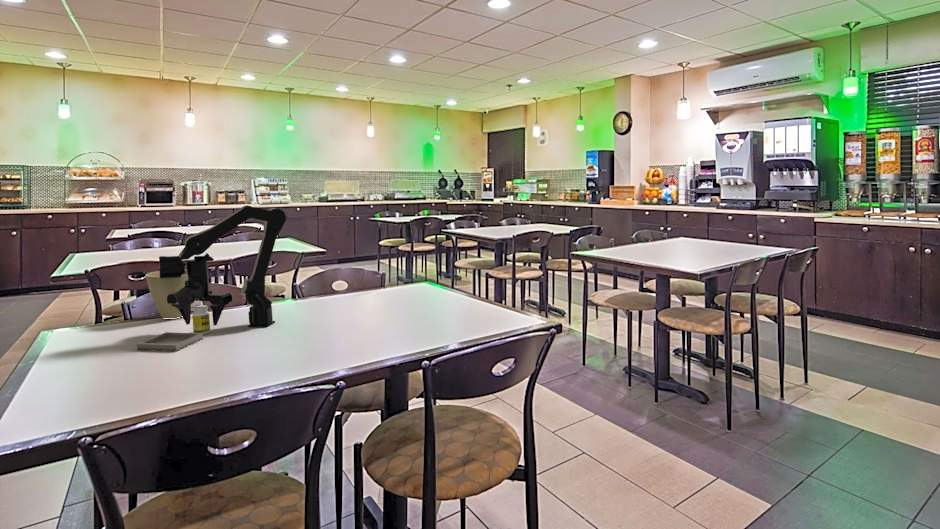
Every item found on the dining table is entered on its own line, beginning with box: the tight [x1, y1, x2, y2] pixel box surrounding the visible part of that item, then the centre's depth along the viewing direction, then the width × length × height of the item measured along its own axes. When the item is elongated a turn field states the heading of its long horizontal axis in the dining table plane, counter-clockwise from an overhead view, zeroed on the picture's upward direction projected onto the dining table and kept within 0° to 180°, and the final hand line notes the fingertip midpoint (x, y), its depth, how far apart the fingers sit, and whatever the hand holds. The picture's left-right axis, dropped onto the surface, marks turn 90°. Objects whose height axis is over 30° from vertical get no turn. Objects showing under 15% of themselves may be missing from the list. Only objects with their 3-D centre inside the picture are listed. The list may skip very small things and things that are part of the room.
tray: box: [136, 331, 204, 352], centre depth 156 cm, size 12×12×2 cm
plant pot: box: [145, 269, 188, 319], centre depth 187 cm, size 15×15×16 cm
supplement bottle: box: [191, 304, 211, 335], centre depth 168 cm, size 5×5×8 cm
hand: (201, 324), depth 168 cm, fingers open, 9 cm apart
